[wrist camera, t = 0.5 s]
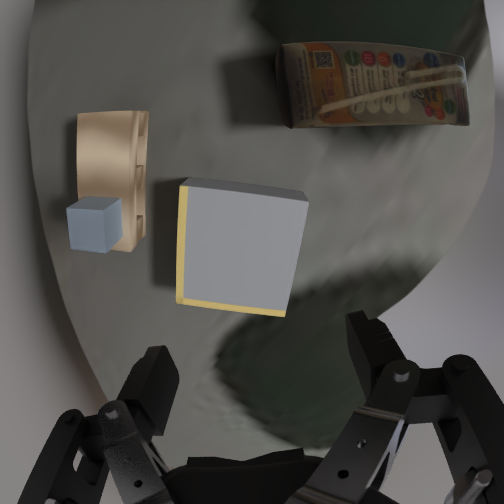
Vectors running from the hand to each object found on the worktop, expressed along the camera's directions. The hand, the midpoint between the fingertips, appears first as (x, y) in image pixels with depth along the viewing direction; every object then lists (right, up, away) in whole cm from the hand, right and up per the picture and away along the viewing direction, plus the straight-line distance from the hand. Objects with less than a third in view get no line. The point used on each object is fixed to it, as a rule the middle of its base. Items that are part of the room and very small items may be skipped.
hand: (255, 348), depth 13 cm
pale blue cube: (-15, +8, +15) cm, 23 cm away
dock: (-2, +5, +21) cm, 22 cm away
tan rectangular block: (-15, +13, +18) cm, 27 cm away
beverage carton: (+12, +21, +14) cm, 28 cm away
